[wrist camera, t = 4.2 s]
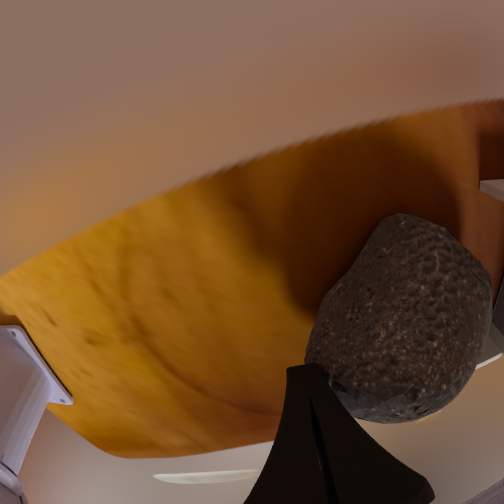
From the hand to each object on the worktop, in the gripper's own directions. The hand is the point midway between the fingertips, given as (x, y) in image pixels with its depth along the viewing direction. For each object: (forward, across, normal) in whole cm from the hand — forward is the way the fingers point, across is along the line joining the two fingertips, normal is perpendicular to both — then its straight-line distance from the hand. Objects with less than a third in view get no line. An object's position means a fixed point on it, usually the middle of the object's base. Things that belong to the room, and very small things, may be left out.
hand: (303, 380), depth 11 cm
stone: (+4, -5, 0) cm, 7 cm away
